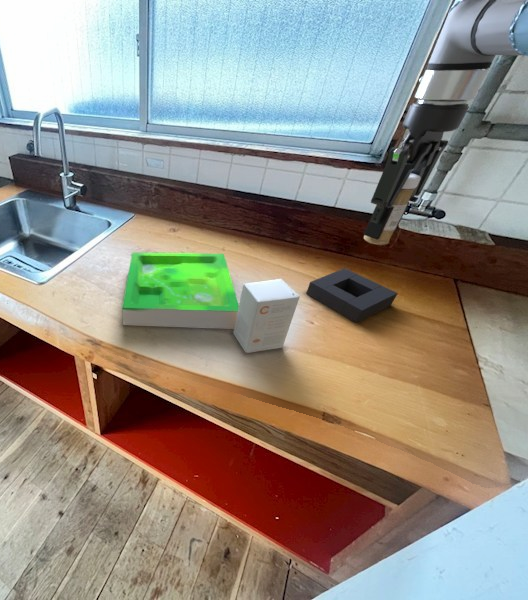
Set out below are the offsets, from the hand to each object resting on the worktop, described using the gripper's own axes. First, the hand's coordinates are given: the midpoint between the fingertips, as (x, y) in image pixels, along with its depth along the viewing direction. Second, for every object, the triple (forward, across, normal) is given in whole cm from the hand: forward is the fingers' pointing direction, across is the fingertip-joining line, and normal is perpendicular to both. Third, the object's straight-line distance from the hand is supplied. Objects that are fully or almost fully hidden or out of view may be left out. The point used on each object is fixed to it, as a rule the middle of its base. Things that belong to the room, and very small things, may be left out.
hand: (378, 233), depth 66 cm
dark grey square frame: (+17, 0, 0) cm, 17 cm away
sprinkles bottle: (+2, 0, 0) cm, 2 cm away
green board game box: (+18, +34, -22) cm, 44 cm away
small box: (+18, +28, 0) cm, 33 cm away
